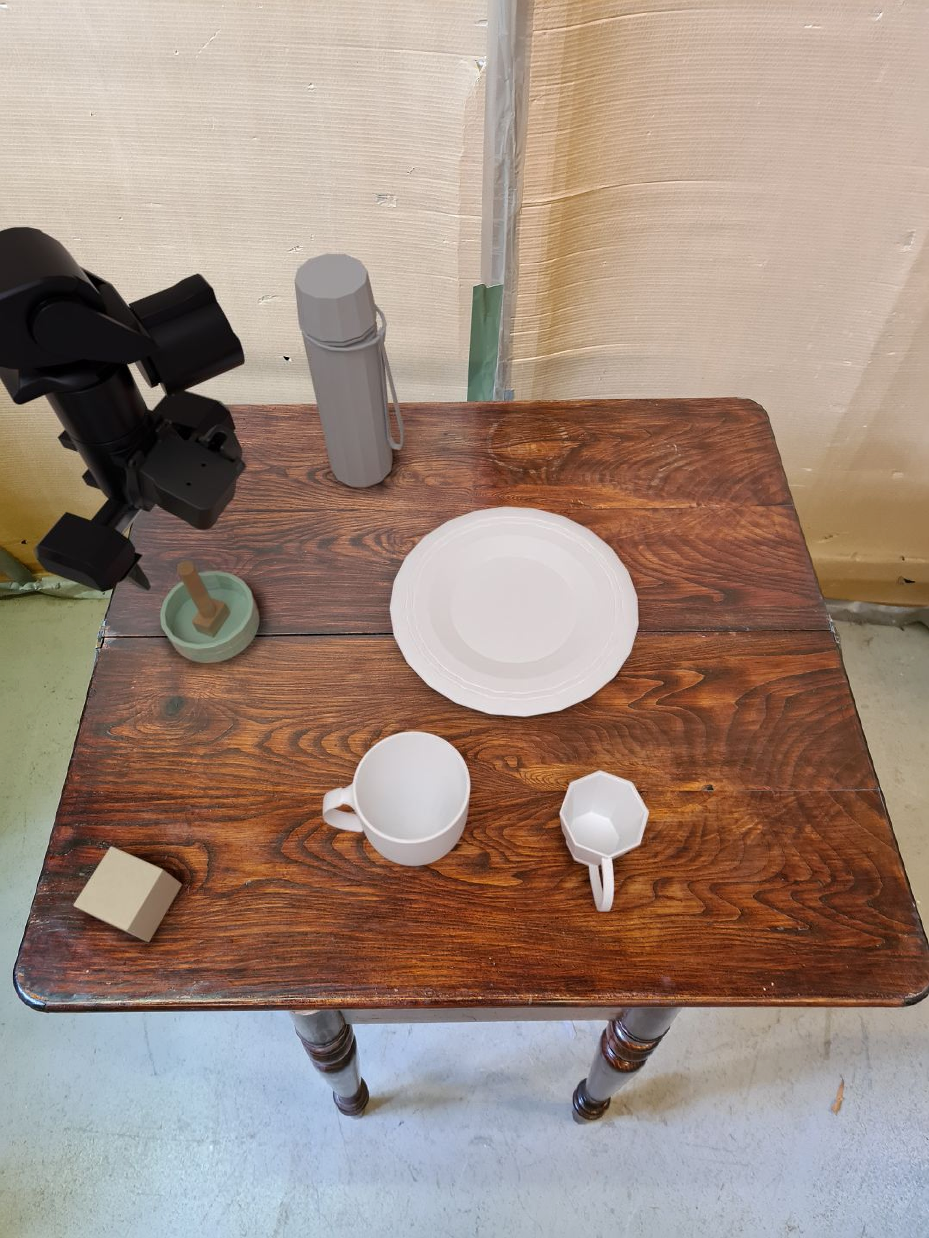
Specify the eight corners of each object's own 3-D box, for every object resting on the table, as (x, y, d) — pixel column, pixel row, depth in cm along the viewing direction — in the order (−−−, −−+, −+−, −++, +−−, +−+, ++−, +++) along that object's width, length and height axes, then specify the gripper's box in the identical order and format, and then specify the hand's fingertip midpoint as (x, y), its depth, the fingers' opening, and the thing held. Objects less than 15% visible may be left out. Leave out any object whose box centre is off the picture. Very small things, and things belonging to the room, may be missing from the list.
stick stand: (97, 918, 66) (72, 905, 61) (133, 861, 68) (110, 845, 64) (149, 942, 65) (126, 930, 60) (182, 884, 67) (163, 869, 63)
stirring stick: (196, 631, 80) (166, 577, 72) (213, 606, 81) (185, 551, 73) (214, 638, 79) (185, 584, 71) (230, 613, 81) (204, 558, 73)
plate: (578, 767, 72) (581, 759, 71) (344, 658, 78) (342, 649, 77) (670, 568, 84) (674, 557, 82) (460, 486, 90) (460, 475, 89)
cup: (626, 802, 71) (643, 769, 64) (640, 920, 65) (660, 898, 59) (547, 803, 71) (556, 770, 64) (555, 920, 65) (565, 898, 59)
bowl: (152, 646, 79) (141, 630, 77) (201, 576, 84) (192, 559, 81) (230, 675, 78) (222, 661, 75) (275, 603, 82) (269, 586, 79)
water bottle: (319, 485, 90) (274, 293, 69) (346, 437, 94) (310, 242, 73) (395, 504, 89) (372, 314, 68) (419, 454, 93) (404, 260, 71)
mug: (467, 780, 72) (466, 726, 62) (473, 880, 67) (474, 839, 57) (337, 788, 72) (315, 735, 61) (335, 889, 67) (310, 849, 57)
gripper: (124, 547, 50) (196, 664, 63) (269, 360, 59) (306, 497, 73) (-18, 496, 52) (81, 620, 66) (143, 324, 62) (201, 463, 75)
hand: (174, 547), depth 70 cm, fingers open, 9 cm apart
